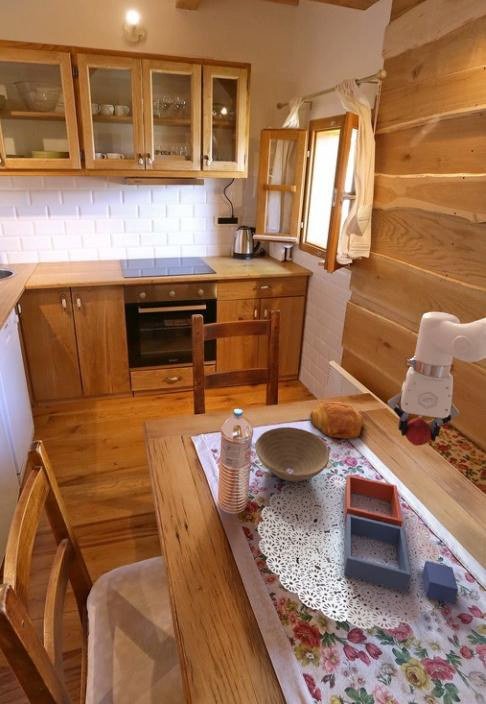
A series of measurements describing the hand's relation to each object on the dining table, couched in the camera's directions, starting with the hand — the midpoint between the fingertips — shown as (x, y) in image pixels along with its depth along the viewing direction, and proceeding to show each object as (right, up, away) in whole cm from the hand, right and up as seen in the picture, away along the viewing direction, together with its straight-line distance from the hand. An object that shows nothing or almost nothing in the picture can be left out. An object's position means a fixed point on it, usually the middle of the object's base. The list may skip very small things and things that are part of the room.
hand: (417, 434), depth 97 cm
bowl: (-30, -12, +6) cm, 33 cm away
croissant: (-12, -5, +26) cm, 29 cm away
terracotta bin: (-14, -16, -6) cm, 22 cm away
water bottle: (-44, -15, -5) cm, 47 cm away
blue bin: (-17, -20, -17) cm, 32 cm away
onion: (0, -3, +1) cm, 3 cm away
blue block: (-8, -23, -22) cm, 33 cm away
